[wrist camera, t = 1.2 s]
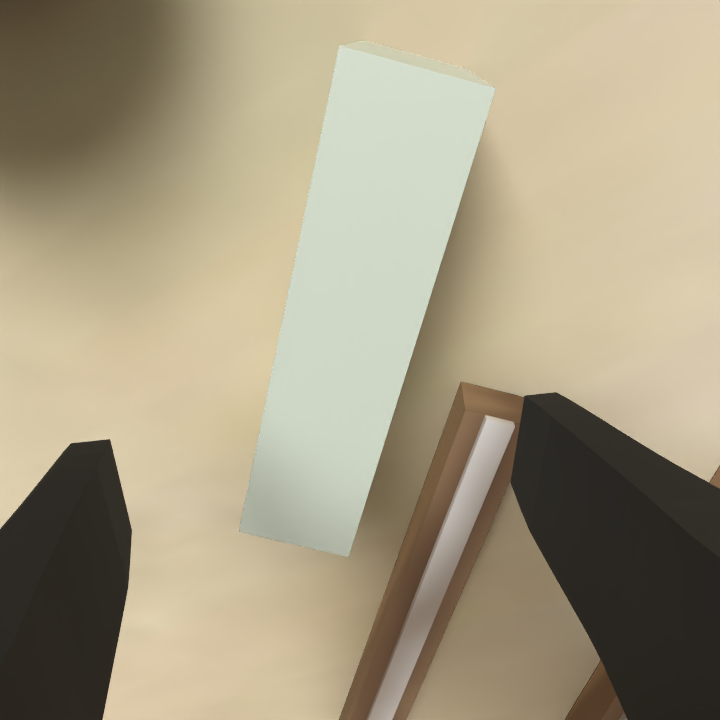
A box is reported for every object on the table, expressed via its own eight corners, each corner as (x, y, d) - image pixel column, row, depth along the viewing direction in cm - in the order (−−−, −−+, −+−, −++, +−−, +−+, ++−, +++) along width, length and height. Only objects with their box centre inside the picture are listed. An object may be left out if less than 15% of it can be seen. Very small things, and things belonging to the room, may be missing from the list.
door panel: (463, 66, 19) (496, 88, 12) (365, 405, 25) (348, 557, 18) (364, 40, 19) (339, 45, 12) (287, 386, 25) (238, 532, 17)
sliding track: (791, 463, 25) (826, 503, 22) (582, 774, 34) (594, 822, 31) (460, 381, 24) (466, 414, 22) (338, 720, 33) (334, 766, 31)
